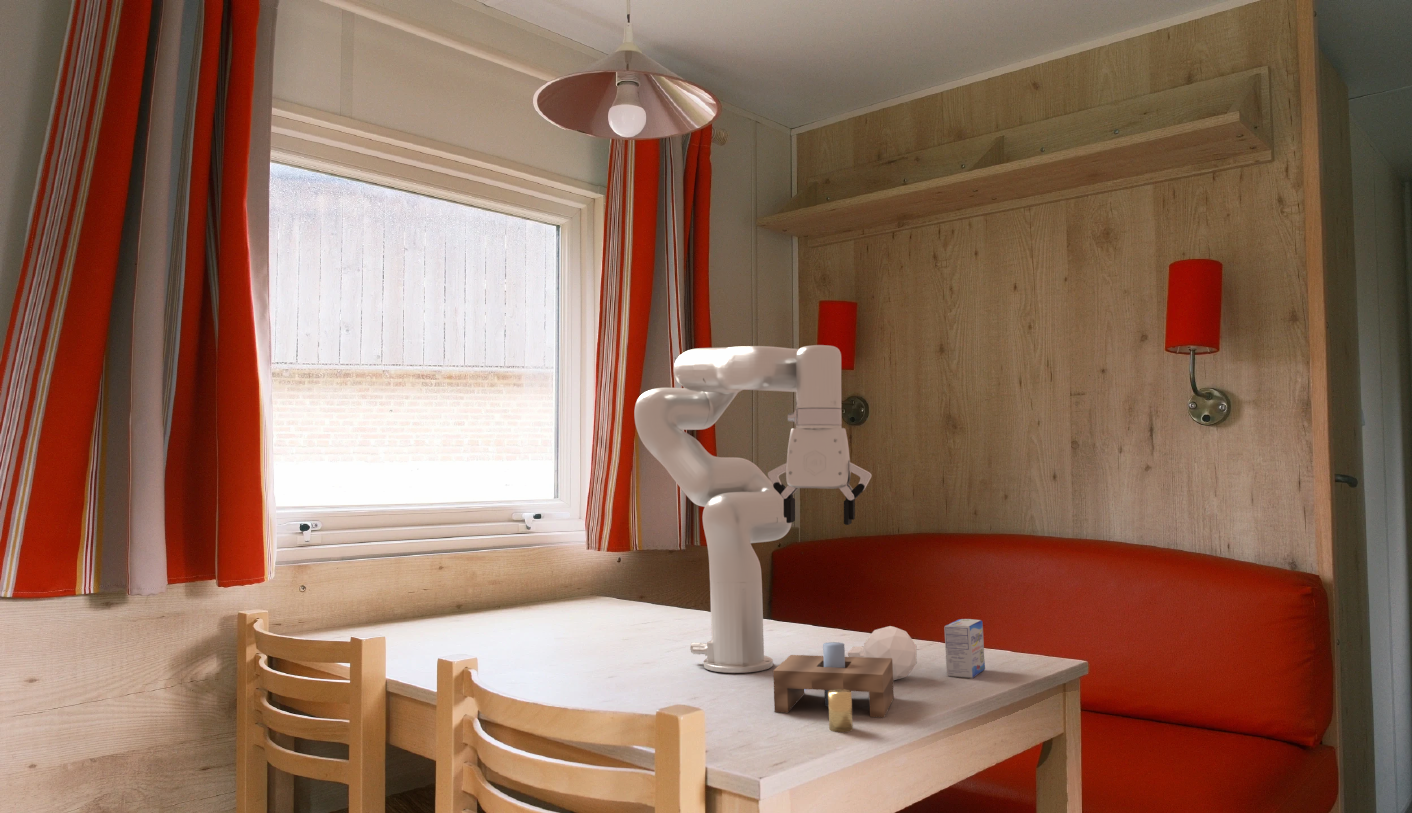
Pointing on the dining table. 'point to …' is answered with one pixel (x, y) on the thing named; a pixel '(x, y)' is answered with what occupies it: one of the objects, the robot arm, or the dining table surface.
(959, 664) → the medicine box
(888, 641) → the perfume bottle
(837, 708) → the short pin
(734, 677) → the dining table surface
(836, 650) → the long pin
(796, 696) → the hole board
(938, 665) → the dining table surface
